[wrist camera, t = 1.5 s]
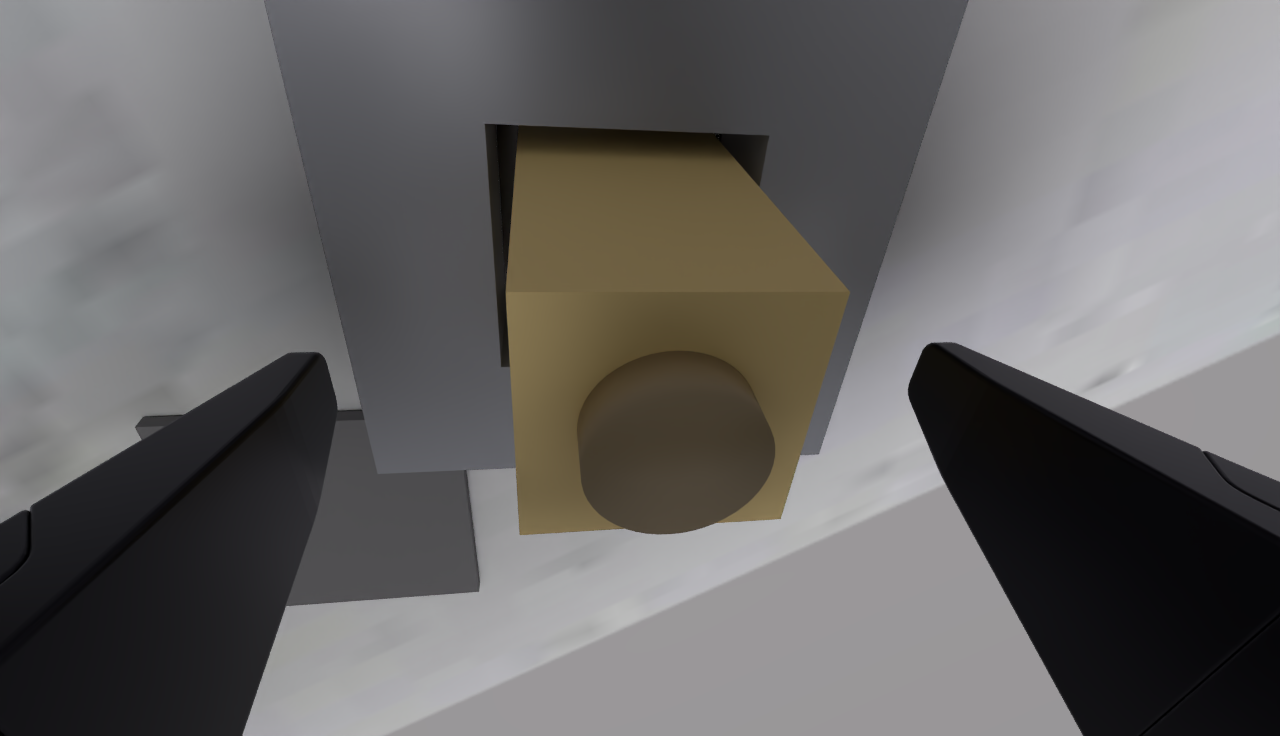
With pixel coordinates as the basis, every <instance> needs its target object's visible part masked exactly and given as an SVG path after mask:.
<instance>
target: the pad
mask: <svg viewBox="0 0 1280 736" xmlns="http://www.w3.org/2000/svg"><path fill="white" fill-rule="evenodd" d="M179 417H181V416H167V417H143V418H142V419H141V420H140V422H139V423H138V424H137V425H136V427H135V428H136V430H137V432H138V434H139V436H140V438H141V440H142V439H144V438H146V437H147V436H149V435H151V434H153V433H154V432H156V431H158V430H159V429H161V428H163V427H164V426H166V425H168V424H169V423H171V422H173V421H174V420H176V419H178V418H179ZM479 585H480V580H479V572H478V563H477V555H476V547H475V539H474V531H473V523H472V515H471V507H470V499H469V490H468V482H467V474H466V470H456V471H434V472H411V473H389V474H377V469H376V465H375V461H374V457H373V453H372V449H371V444H370V440H369V436H368V432H367V428H366V424H365V419H364V415H363V411H338V412H337V419H336V424H335V429H334V434H333V439H332V444H331V449H330V454H329V459H328V464H327V469H326V474H325V479H324V484H323V489H322V494H321V499H320V503H319V508H318V512H317V515H316V518H315V522H314V525H313V528H312V531H311V534H310V537H309V540H308V543H307V546H306V549H305V552H304V554H303V557H302V560H301V563H300V566H299V569H298V572H297V575H296V578H295V581H294V584H293V587H292V590H291V593H290V596H289V599H288V602H287V605H286V606H294V605H307V604H320V603H334V602H347V601H360V600H374V599H387V598H400V597H414V596H427V595H440V594H454V593H467V592H479Z"/></svg>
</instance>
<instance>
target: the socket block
mask: <svg viewBox="0 0 1280 736" xmlns="http://www.w3.org/2000/svg"><path fill="white" fill-rule="evenodd" d="M264 2H265V6H266V11H267V15H268V19H269V23H270V27H271V31H272V36H273V40H274V44H275V48H276V52H277V56H278V61H279V65H280V69H281V73H282V77H283V81H284V86H285V90H286V94H287V98H288V102H289V106H290V111H291V115H292V119H293V123H294V127H295V132H296V136H297V140H298V144H299V148H300V152H301V157H302V161H303V165H304V169H305V173H306V177H307V182H308V186H309V190H310V194H311V198H312V202H313V207H314V211H315V215H316V219H317V223H318V227H319V232H320V236H321V240H322V244H323V248H324V252H325V257H326V261H327V265H328V269H329V273H330V278H331V282H332V286H333V290H334V294H335V298H336V303H337V307H338V311H339V315H340V319H341V323H342V328H343V332H344V336H345V340H346V344H347V348H348V353H349V357H350V361H351V365H352V369H353V373H354V378H355V382H356V386H357V390H358V394H359V399H360V403H361V407H362V411H363V415H364V419H365V424H366V428H367V432H368V436H369V440H370V444H371V449H372V453H373V457H374V461H375V465H376V469H377V474H389V473H411V472H434V471H456V470H479V469H501V468H516V462H515V445H514V427H513V410H512V393H511V376H510V359H509V341H508V324H507V307H506V286H505V269H504V251H503V234H502V217H501V199H500V182H499V165H498V147H497V130H496V124H504V125H529V126H553V127H577V128H601V129H625V130H649V131H673V132H697V133H721V134H722V137H721V143H722V145H723V146H724V147H725V148H726V149H727V150H728V151H729V153H730V154H731V155H732V156H733V157H734V158H735V160H736V161H737V162H738V163H739V164H740V165H741V166H742V168H743V169H744V170H745V171H746V172H747V173H748V175H749V176H750V177H751V178H752V179H753V180H754V181H755V183H756V184H757V185H758V186H759V187H760V188H761V190H762V191H763V192H764V193H765V194H766V195H767V196H768V198H769V199H770V200H771V201H772V202H773V203H774V205H775V206H776V207H777V208H778V209H779V210H780V211H781V213H782V214H783V215H784V216H785V217H786V218H787V220H788V221H789V222H790V223H791V224H792V225H793V226H794V228H795V229H796V230H797V231H798V232H799V233H800V235H801V236H802V237H803V238H804V239H805V240H806V241H807V243H808V244H809V245H810V246H811V247H812V248H813V250H814V251H815V252H816V253H817V254H818V255H819V256H820V258H821V259H822V260H823V261H824V262H825V263H826V265H827V266H828V267H829V268H830V269H831V270H832V271H833V273H834V274H835V275H836V276H837V277H838V278H839V280H840V281H841V282H842V283H843V284H844V285H845V287H846V288H847V289H848V290H849V291H850V294H849V298H848V301H847V304H846V307H845V311H844V314H843V317H842V320H841V324H840V327H839V330H838V333H837V337H836V340H835V343H834V346H833V350H832V353H831V356H830V359H829V363H828V366H827V369H826V372H825V376H824V379H823V382H822V386H821V389H820V392H819V395H818V399H817V402H816V405H815V408H814V412H813V415H812V418H811V421H810V425H809V428H808V431H807V434H806V438H805V441H804V444H803V447H802V451H801V454H800V455H815V454H819V452H820V449H821V446H822V443H823V440H824V437H825V434H826V431H827V428H828V424H829V421H830V418H831V415H832V412H833V409H834V406H835V403H836V400H837V397H838V394H839V391H840V388H841V385H842V382H843V379H844V376H845V373H846V370H847V367H848V364H849V361H850V358H851V355H852V352H853V349H854V346H855V343H856V340H857V337H858V334H859V331H860V328H861V325H862V321H863V318H864V315H865V312H866V309H867V306H868V303H869V300H870V297H871V294H872V291H873V288H874V285H875V282H876V279H877V276H878V273H879V270H880V267H881V264H882V261H883V258H884V255H885V252H886V249H887V246H888V243H889V240H890V237H891V234H892V231H893V228H894V225H895V222H896V218H897V215H898V212H899V209H900V206H901V203H902V200H903V197H904V194H905V191H906V188H907V185H908V182H909V179H910V176H911V173H912V170H913V167H914V164H915V161H916V158H917V155H918V152H919V149H920V146H921V143H922V140H923V137H924V134H925V131H926V128H927V125H928V122H929V119H930V115H931V112H932V109H933V106H934V103H935V100H936V97H937V94H938V91H939V88H940V85H941V82H942V79H943V76H944V73H945V70H946V67H947V64H948V61H949V58H950V55H951V52H952V49H953V46H954V43H955V40H956V37H957V34H958V31H959V28H960V25H961V22H962V19H963V15H964V12H965V9H966V6H967V3H968V0H264Z"/></svg>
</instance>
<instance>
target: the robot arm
mask: <svg viewBox="0 0 1280 736" xmlns="http://www.w3.org/2000/svg"><path fill="white" fill-rule="evenodd" d="M908 396H909V400H910V402H911V405H912V407H913V410H914V412H915V414H916V417H917V419H918V422H919V424H920V426H921V429H922V431H923V434H924V436H925V439H926V441H927V443H928V446H929V448H930V451H931V453H932V455H933V458H934V460H935V463H936V465H937V467H938V469H939V472H940V474H941V476H942V478H943V480H944V482H945V484H946V486H947V488H948V490H949V492H950V493H951V495H952V497H953V499H954V501H955V503H956V504H957V506H958V508H959V510H960V512H961V513H962V515H963V517H964V519H965V521H966V522H967V524H968V526H969V528H970V530H971V532H972V534H973V535H974V537H975V539H976V541H977V543H978V545H979V546H980V548H981V550H982V552H983V553H984V555H985V557H986V559H987V561H988V563H989V564H990V567H991V568H992V570H993V572H994V573H995V576H996V578H997V579H998V581H999V583H1000V585H1001V586H1002V588H1003V590H1004V592H1005V594H1006V596H1007V598H1008V599H1009V601H1010V603H1011V605H1012V607H1013V609H1014V610H1015V612H1016V614H1017V616H1018V618H1019V620H1020V621H1021V623H1022V625H1023V627H1024V629H1025V630H1026V632H1027V634H1028V636H1029V638H1030V640H1031V641H1032V643H1033V645H1034V647H1035V649H1036V651H1037V652H1038V654H1039V656H1040V658H1041V659H1042V661H1043V663H1044V665H1045V667H1046V669H1047V671H1048V673H1049V674H1050V676H1051V678H1052V680H1053V682H1054V683H1055V685H1056V687H1057V689H1058V691H1059V693H1060V694H1061V696H1062V698H1063V700H1064V702H1065V703H1066V705H1067V707H1068V709H1069V711H1070V713H1071V715H1072V716H1073V718H1074V720H1075V722H1076V724H1077V725H1078V727H1079V729H1080V731H1081V733H1082V735H1083V736H1280V482H1279V481H1276V480H1274V479H1272V478H1269V477H1267V476H1264V475H1262V474H1259V473H1257V472H1255V471H1252V470H1250V469H1247V468H1245V467H1243V466H1240V465H1238V464H1236V463H1233V462H1231V461H1229V460H1226V459H1224V458H1222V457H1219V456H1217V455H1215V454H1212V453H1210V452H1208V451H1203V452H1202V451H1201V449H1200V448H1198V447H1196V446H1193V445H1191V444H1189V443H1187V442H1184V441H1182V440H1180V439H1177V438H1175V437H1173V436H1170V435H1168V434H1165V433H1164V432H1161V431H1159V430H1156V429H1154V428H1152V427H1150V426H1147V425H1145V424H1143V423H1140V422H1138V421H1136V420H1133V419H1131V418H1129V417H1126V416H1124V415H1122V414H1119V413H1117V412H1115V411H1112V410H1110V409H1108V408H1106V407H1103V406H1101V405H1099V404H1096V403H1094V402H1092V401H1089V400H1087V399H1085V398H1082V397H1080V396H1078V395H1075V394H1073V393H1071V392H1068V391H1066V390H1064V389H1061V388H1059V387H1057V386H1054V385H1052V384H1050V383H1047V382H1045V381H1043V380H1040V379H1038V378H1036V377H1034V376H1031V375H1029V374H1027V373H1024V372H1022V371H1020V370H1017V369H1015V368H1013V367H1010V366H1008V365H1006V364H1003V363H1001V362H999V361H996V360H994V359H992V358H989V357H987V356H985V355H982V354H980V353H978V352H975V351H973V350H971V349H969V348H966V347H964V346H962V345H959V344H957V343H952V342H943V343H930V344H928V345H927V346H926V347H925V348H924V349H923V351H922V353H921V355H920V358H919V360H918V363H917V365H916V368H915V370H914V373H913V375H912V377H911V380H910V383H909V387H908ZM336 419H337V400H336V396H335V392H334V389H333V385H332V381H331V377H330V374H329V370H328V366H327V363H326V360H325V358H324V357H323V355H321V354H320V353H318V352H296V353H288V354H286V355H284V356H282V357H281V358H279V359H277V360H275V361H274V362H272V363H270V364H269V365H267V366H265V367H264V368H262V369H260V370H259V371H257V372H255V373H254V374H252V375H250V376H249V377H247V378H245V379H244V380H242V381H240V382H238V383H237V384H235V385H233V386H232V387H230V388H228V389H227V390H225V391H223V392H222V393H220V394H218V395H217V396H215V397H213V398H211V399H210V400H208V401H206V402H205V403H203V404H201V405H200V406H198V407H196V408H195V409H193V410H191V411H190V412H188V413H186V414H185V415H183V416H181V417H179V418H178V419H176V420H174V421H173V422H171V423H169V424H168V425H166V426H164V427H163V428H161V429H159V430H158V431H156V432H154V433H153V434H151V435H149V436H147V437H146V438H144V439H142V440H141V441H139V442H137V443H136V444H134V445H132V446H131V447H129V448H127V449H126V450H124V451H122V452H121V453H119V454H117V455H115V456H114V457H112V458H110V459H109V460H107V461H105V462H104V463H102V464H100V465H99V466H97V467H95V468H94V469H92V470H90V471H89V472H87V473H85V474H83V475H82V476H80V477H78V478H77V479H75V480H73V481H72V482H70V483H68V484H67V485H65V486H63V487H62V488H60V489H58V490H57V491H55V492H53V493H51V494H50V495H48V496H46V497H45V498H43V499H41V500H40V501H38V502H36V503H35V504H33V505H32V506H31V507H30V511H27V510H24V511H21V512H19V513H17V514H16V515H14V516H12V517H11V518H9V519H7V520H6V521H4V522H2V523H1V524H0V736H242V734H243V731H244V729H245V726H246V723H247V720H248V717H249V714H250V711H251V708H252V705H253V702H254V699H255V696H256V693H257V690H258V687H259V684H260V681H261V678H262V675H263V672H264V670H265V667H266V664H267V661H268V658H269V655H270V652H271V649H272V646H273V643H274V640H275V637H276V634H277V631H278V628H279V625H280V622H281V619H282V616H283V613H284V611H285V608H286V605H287V602H288V599H289V596H290V593H291V590H292V587H293V584H294V581H295V578H296V575H297V572H298V569H299V566H300V563H301V560H302V557H303V554H304V552H305V549H306V546H307V543H308V540H309V537H310V534H311V531H312V528H313V525H314V522H315V518H316V515H317V512H318V508H319V503H320V499H321V494H322V489H323V484H324V479H325V474H326V469H327V464H328V459H329V454H330V449H331V444H332V439H333V434H334V429H335V424H336Z"/></svg>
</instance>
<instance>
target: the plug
mask: <svg viewBox="0 0 1280 736" xmlns="http://www.w3.org/2000/svg"><path fill="white" fill-rule="evenodd" d="M849 294H850V291H849V290H848V289H847V288H846V287H845V285H844V284H843V283H842V282H841V281H840V280H839V278H838V277H837V276H836V275H835V274H834V273H833V271H832V270H831V269H830V268H829V267H828V266H827V265H826V263H825V262H824V261H823V260H822V259H821V258H820V256H819V255H818V254H817V253H816V252H815V251H814V250H813V248H812V247H811V246H810V245H809V244H808V243H807V241H806V240H805V239H804V238H803V237H802V236H801V235H800V233H799V232H798V231H797V230H796V229H795V228H794V226H793V225H792V224H791V223H790V222H789V221H788V220H787V218H786V217H785V216H784V215H783V214H782V213H781V211H780V210H779V209H778V208H777V207H776V206H775V205H774V203H773V202H772V201H771V200H770V199H769V198H768V196H767V195H766V194H765V193H764V192H763V191H762V190H761V188H760V187H759V186H758V185H757V184H756V183H755V181H754V180H753V179H752V178H751V177H750V176H749V175H748V173H747V172H746V171H745V170H744V169H743V168H742V166H741V165H740V164H739V163H738V162H737V161H736V160H735V158H734V157H733V156H732V155H731V154H730V153H729V151H728V150H727V149H726V148H725V147H724V146H723V145H722V143H721V142H720V141H719V140H718V139H717V138H716V136H715V135H714V134H713V133H697V132H673V131H649V130H625V129H601V128H577V127H553V126H529V125H519V126H518V139H517V152H516V165H515V178H514V191H513V204H512V216H511V229H510V242H509V255H508V268H507V281H506V307H507V324H508V341H509V359H510V376H511V393H512V410H513V427H514V445H515V462H516V479H517V496H518V514H519V531H520V535H529V534H545V533H561V532H578V531H594V530H610V529H628V530H632V531H635V532H641V533H647V534H675V533H683V532H688V531H693V530H696V529H700V528H703V527H706V526H709V525H712V524H714V523H724V522H740V521H756V520H772V519H781V516H782V513H783V509H784V506H785V503H786V500H787V496H788V493H789V490H790V487H791V483H792V480H793V477H794V473H795V470H796V467H797V464H798V460H799V457H800V454H801V451H802V447H803V444H804V441H805V438H806V434H807V431H808V428H809V425H810V421H811V418H812V415H813V412H814V408H815V405H816V402H817V399H818V395H819V392H820V389H821V386H822V382H823V379H824V376H825V372H826V369H827V366H828V363H829V359H830V356H831V353H832V350H833V346H834V343H835V340H836V337H837V333H838V330H839V327H840V324H841V320H842V317H843V314H844V311H845V307H846V304H847V301H848V298H849Z"/></svg>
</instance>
